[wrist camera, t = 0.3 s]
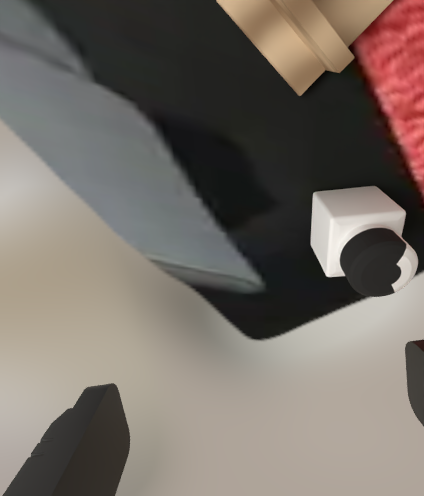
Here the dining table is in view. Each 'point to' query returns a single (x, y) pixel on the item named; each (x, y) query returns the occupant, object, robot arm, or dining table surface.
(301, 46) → the stand
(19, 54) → the dining table surface
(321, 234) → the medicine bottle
